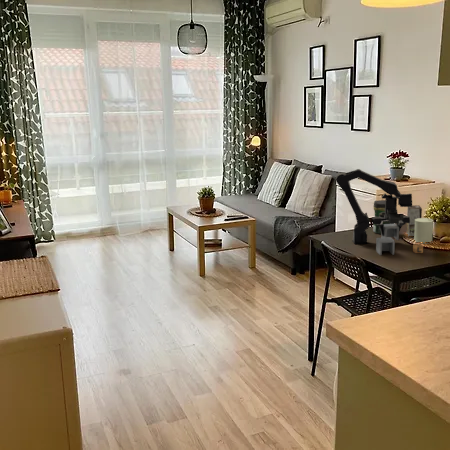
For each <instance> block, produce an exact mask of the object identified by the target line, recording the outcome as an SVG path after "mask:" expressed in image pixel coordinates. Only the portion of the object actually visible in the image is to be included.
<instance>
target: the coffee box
mask: <svg viewBox="0 0 450 450" xmlns="http://www.w3.org/2000/svg"><path fill="white" fill-rule="evenodd" d="M406 208H407V210H406V211H407V215H406V216H408V217H409V218H410V223H406V235H407V234H408V235H407V236H408V237H409V236H414V233H415V219H417V218H423V216H422V215H423V209H422V206H421V205H420V204H419V205H417V204H416V205H413V204H412V207H406Z"/></svg>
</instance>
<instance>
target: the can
mask: <svg viewBox="0 0 450 450" xmlns="http://www.w3.org/2000/svg"><path fill="white" fill-rule="evenodd" d="M433 228H434V219H432V218H427V217H422V218H417V219H415V233H414V237H413V241H414V240H415V241H416V242H415V241H414V242H415V243H417V242H423V243H422V244H426V243H425V242H431V241H432V242H433V232H434V231H433ZM432 242H431V243H432Z"/></svg>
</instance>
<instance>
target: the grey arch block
mask: <svg viewBox="0 0 450 450" xmlns="http://www.w3.org/2000/svg"><path fill="white" fill-rule="evenodd" d="M383 229H384V236H382V233H381V237H391V238H394V240H396V241H399V240H400V239H399V238H400V237H399V236H400V231H399V227H398V226H397V224H396V223H394V224H384V226H383ZM381 237H380V238H381Z"/></svg>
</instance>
